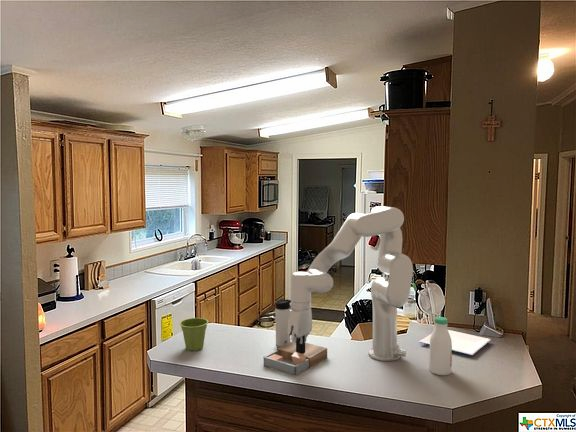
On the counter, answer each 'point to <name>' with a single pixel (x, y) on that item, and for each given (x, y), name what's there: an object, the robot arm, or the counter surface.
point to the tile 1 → (276, 357)
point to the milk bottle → (440, 348)
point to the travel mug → (282, 322)
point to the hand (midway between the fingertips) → (300, 352)
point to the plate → (463, 342)
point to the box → (285, 365)
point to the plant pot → (194, 332)
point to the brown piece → (311, 353)
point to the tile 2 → (298, 358)
